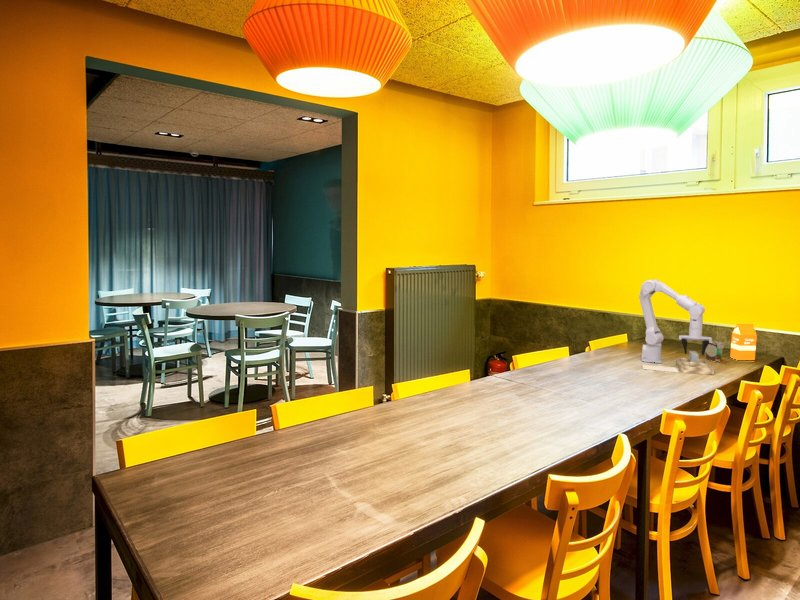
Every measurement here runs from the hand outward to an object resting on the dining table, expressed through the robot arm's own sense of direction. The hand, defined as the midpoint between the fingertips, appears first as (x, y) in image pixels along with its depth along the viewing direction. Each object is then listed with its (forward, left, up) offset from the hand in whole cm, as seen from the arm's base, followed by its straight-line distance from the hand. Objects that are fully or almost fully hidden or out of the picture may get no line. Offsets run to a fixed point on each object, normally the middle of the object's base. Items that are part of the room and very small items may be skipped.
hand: (693, 354), depth 268 cm
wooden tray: (0, -3, -7) cm, 8 cm away
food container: (+14, +24, -7) cm, 29 cm away
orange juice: (+28, +33, -7) cm, 44 cm away
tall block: (0, 0, -7) cm, 7 cm away
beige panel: (-16, -10, -7) cm, 20 cm away
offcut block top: (0, -10, -5) cm, 11 cm away
